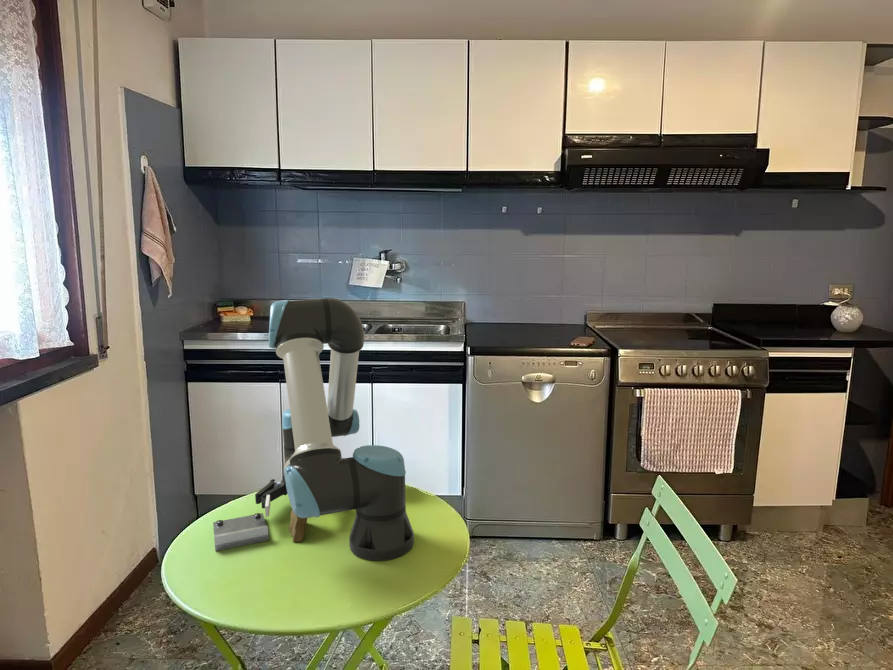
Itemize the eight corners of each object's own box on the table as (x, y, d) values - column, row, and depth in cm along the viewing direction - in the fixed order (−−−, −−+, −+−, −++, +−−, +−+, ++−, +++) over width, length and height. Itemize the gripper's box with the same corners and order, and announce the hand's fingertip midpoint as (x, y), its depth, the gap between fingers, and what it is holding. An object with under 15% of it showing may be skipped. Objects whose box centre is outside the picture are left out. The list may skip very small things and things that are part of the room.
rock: (310, 537, 141) (330, 512, 150) (287, 509, 141) (308, 486, 150) (281, 555, 146) (302, 530, 155) (259, 528, 145) (281, 504, 154)
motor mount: (268, 540, 144) (267, 526, 144) (215, 551, 140) (214, 537, 139) (263, 518, 155) (262, 505, 155) (213, 527, 151) (212, 514, 150)
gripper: (342, 482, 172) (347, 516, 151) (251, 491, 167) (243, 528, 146) (341, 457, 171) (346, 488, 150) (249, 465, 165) (241, 499, 145)
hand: (295, 508), depth 148 cm, fingers open, 13 cm apart
